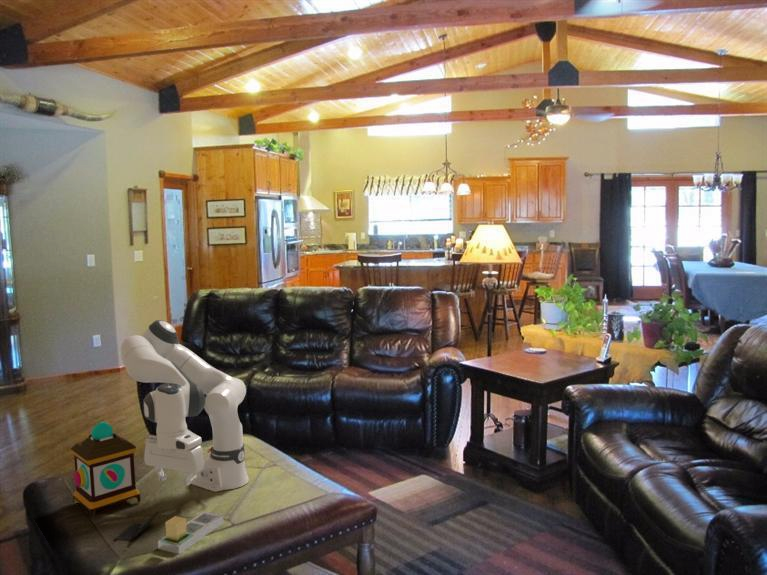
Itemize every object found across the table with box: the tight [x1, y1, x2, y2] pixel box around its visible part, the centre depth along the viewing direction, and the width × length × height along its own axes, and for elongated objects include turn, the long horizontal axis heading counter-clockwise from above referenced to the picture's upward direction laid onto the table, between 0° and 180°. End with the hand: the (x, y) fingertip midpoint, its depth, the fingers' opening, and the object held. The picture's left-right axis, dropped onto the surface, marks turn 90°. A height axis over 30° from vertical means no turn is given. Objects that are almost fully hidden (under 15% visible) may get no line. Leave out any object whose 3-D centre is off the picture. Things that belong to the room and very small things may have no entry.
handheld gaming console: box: [113, 511, 159, 542], centre depth 199 cm, size 12×7×10 cm
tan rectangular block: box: [165, 515, 187, 543], centre depth 190 cm, size 4×4×8 cm
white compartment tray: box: [157, 511, 224, 555], centre depth 197 cm, size 8×21×3 cm, turn 157°
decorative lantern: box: [70, 421, 141, 519], centre depth 221 cm, size 20×20×30 cm
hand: (174, 482), depth 189 cm, fingers open, 8 cm apart
